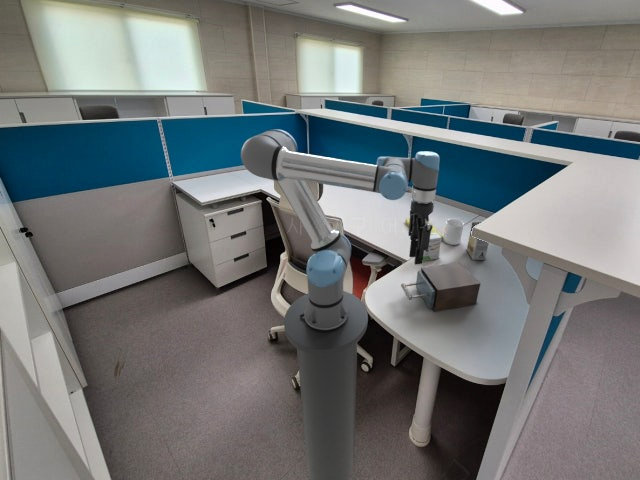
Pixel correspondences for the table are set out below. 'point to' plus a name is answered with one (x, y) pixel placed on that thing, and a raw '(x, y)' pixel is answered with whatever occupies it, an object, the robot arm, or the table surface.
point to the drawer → (422, 289)
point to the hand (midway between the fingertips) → (415, 259)
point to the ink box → (433, 247)
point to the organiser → (452, 285)
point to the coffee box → (476, 246)
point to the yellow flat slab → (429, 224)
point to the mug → (453, 231)
